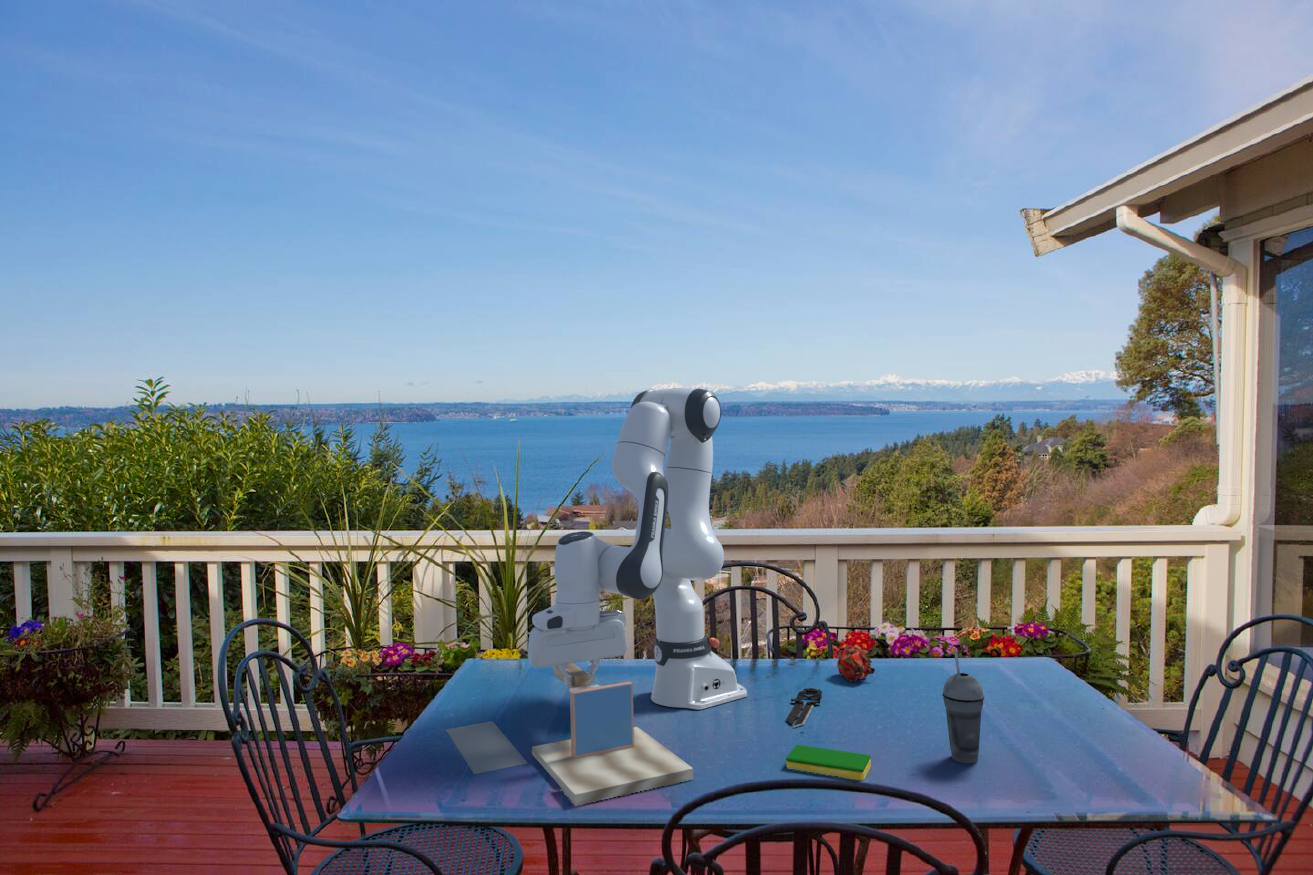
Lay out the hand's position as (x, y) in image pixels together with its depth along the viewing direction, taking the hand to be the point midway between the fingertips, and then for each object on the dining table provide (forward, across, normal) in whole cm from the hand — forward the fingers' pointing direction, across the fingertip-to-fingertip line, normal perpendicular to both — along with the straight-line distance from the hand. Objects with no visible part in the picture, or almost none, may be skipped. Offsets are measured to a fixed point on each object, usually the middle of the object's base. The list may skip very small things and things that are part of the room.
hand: (579, 683), depth 163 cm
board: (+12, 0, +15) cm, 19 cm away
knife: (+12, -50, +6) cm, 52 cm away
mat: (+12, +18, -6) cm, 22 cm away
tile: (+10, 0, +12) cm, 15 cm away
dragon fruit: (+12, -74, -6) cm, 75 cm away
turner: (+1, 0, -2) cm, 2 cm away
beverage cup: (+12, -59, +43) cm, 74 cm away
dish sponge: (+12, -35, +34) cm, 50 cm away
